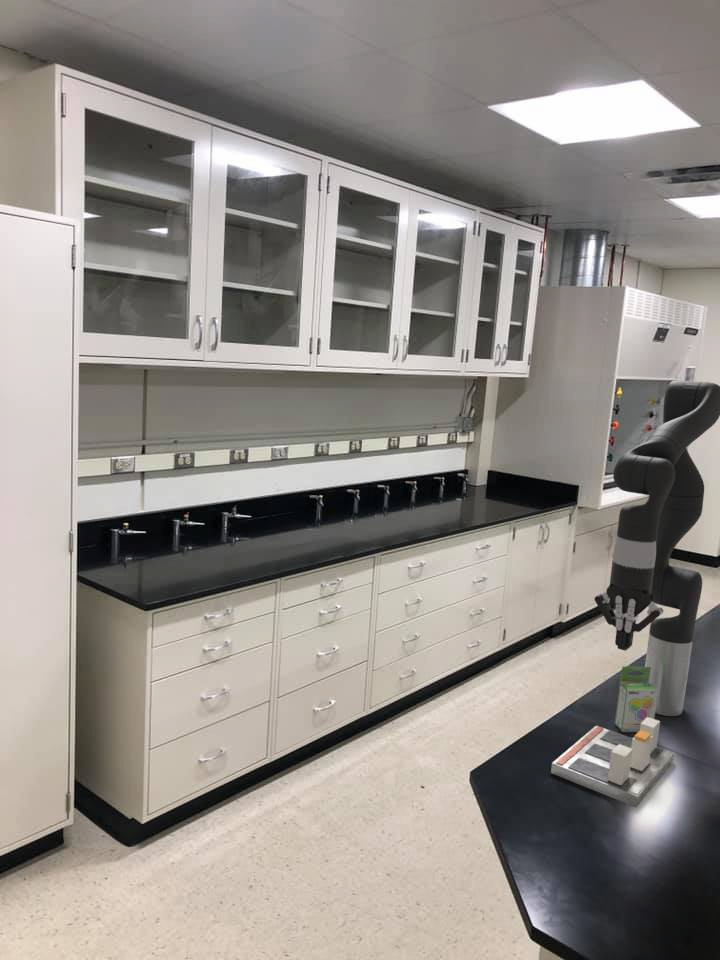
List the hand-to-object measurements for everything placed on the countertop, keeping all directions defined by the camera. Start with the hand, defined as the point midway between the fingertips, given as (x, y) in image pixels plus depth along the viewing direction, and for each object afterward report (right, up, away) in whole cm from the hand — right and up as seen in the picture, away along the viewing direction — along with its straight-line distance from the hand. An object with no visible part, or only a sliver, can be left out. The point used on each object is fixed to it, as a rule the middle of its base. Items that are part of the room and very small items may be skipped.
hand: (622, 648), depth 147 cm
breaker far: (+6, -21, +5) cm, 22 cm away
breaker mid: (+2, -22, -2) cm, 22 cm away
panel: (-2, -23, +1) cm, 23 cm away
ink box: (+8, -22, +18) cm, 29 cm away
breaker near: (-4, -22, -8) cm, 24 cm away
